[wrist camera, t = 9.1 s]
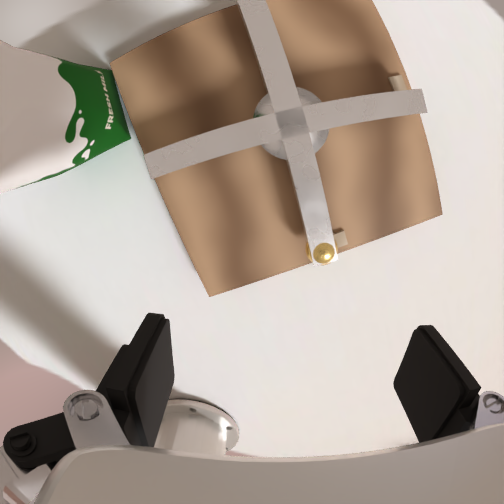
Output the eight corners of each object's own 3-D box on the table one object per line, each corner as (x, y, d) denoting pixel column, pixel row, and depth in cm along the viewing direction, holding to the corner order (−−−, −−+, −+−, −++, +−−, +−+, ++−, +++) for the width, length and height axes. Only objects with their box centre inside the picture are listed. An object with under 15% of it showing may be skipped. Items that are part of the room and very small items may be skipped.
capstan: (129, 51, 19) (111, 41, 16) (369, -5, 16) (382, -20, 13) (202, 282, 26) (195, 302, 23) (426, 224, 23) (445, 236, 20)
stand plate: (212, 286, 28) (208, 298, 26) (119, 67, 21) (108, 62, 19) (431, 209, 25) (444, 215, 23) (353, -12, 18) (360, -23, 16)
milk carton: (45, 101, 22) (-128, 111, 3) (120, 57, 21) (-61, -9, 2) (66, 180, 25) (-109, 256, 6) (145, 144, 24) (-63, 185, 5)
